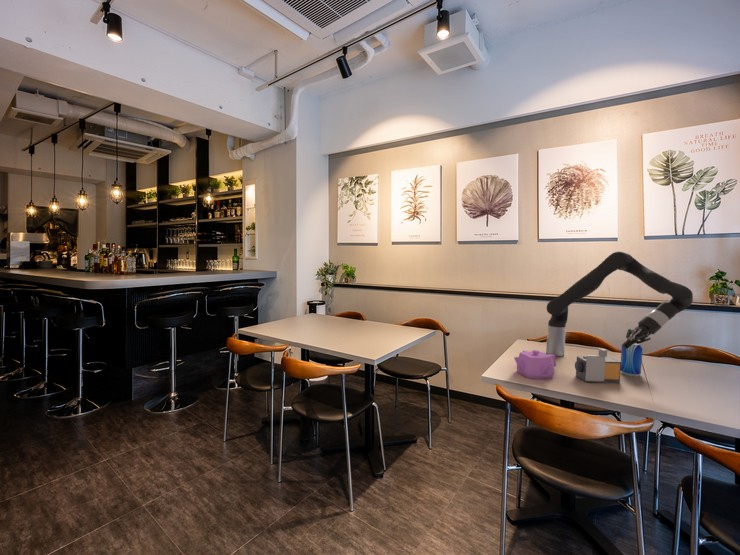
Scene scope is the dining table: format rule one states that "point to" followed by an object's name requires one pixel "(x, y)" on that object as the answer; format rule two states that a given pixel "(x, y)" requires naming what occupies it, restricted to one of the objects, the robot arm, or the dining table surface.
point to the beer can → (631, 360)
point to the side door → (596, 366)
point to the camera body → (610, 369)
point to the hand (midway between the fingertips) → (624, 347)
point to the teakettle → (535, 364)
